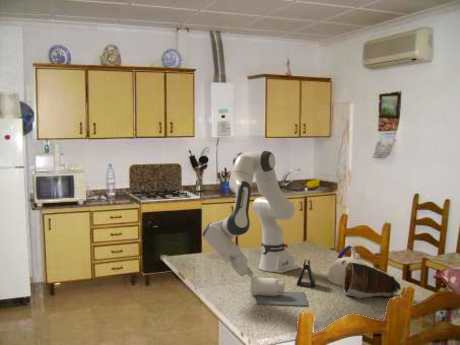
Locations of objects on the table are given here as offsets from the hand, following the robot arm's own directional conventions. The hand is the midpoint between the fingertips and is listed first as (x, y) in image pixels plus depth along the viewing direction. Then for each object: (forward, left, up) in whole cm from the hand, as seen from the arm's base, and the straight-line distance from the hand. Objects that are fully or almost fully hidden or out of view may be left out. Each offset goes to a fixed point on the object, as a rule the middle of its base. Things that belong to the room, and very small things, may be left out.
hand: (252, 275), depth 207 cm
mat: (-11, +7, -10) cm, 17 cm away
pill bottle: (-2, -3, -6) cm, 7 cm away
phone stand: (-34, -3, -11) cm, 36 cm away
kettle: (-58, +1, -11) cm, 59 cm away
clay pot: (-52, +23, -11) cm, 58 cm away
